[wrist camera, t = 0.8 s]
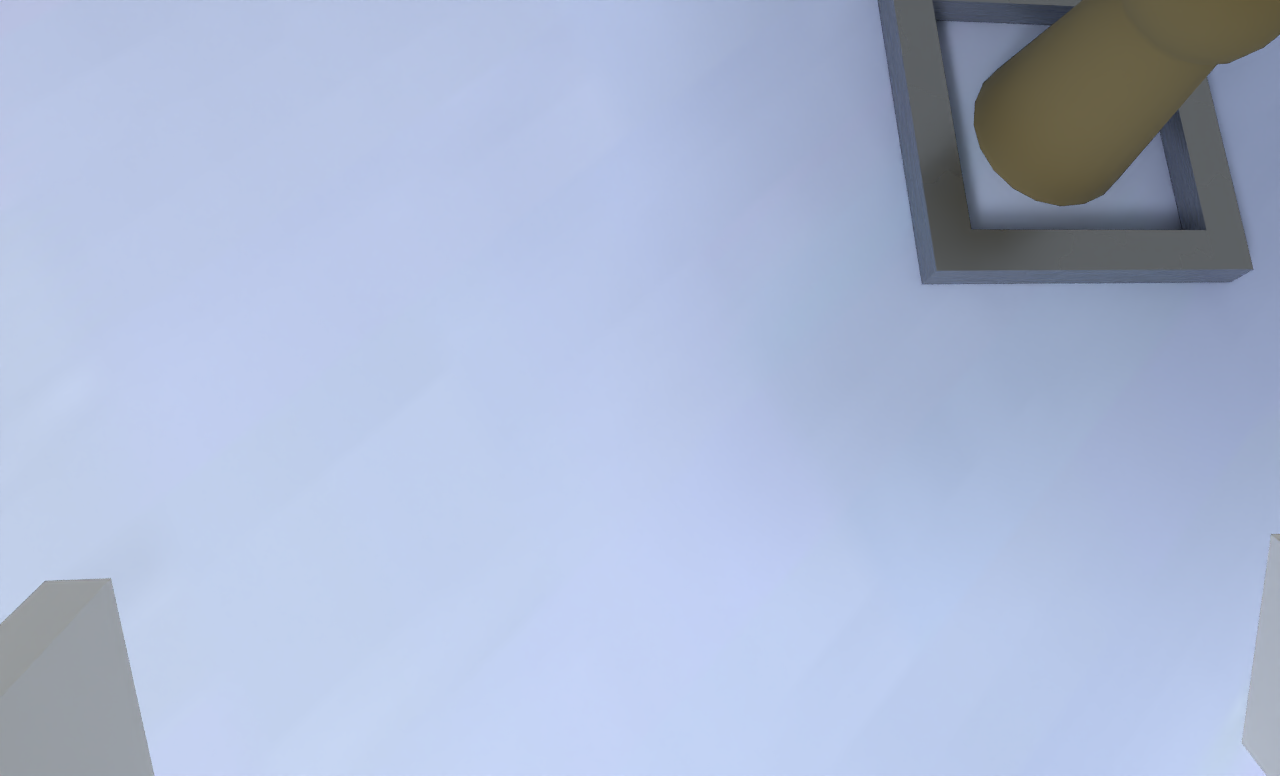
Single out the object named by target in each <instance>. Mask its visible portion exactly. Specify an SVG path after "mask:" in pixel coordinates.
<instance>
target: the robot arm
mask: <svg viewBox="0 0 1280 776" xmlns="http://www.w3.org/2000/svg"><path fill="white" fill-rule="evenodd" d="M1242 744H1243V746H1244V747H1245V748H1246V750H1247V751H1248V752H1249V753H1250V755H1251V756H1252V757H1253V759H1254V760H1255V761H1256V762H1257V764H1258V765H1259V766H1260V768H1261V769H1262V770H1263V771H1264V773H1265V774H1266V775H1267V776H1280V534H1271V538H1270V545H1269V552H1268V559H1267V566H1266V573H1265V580H1264V587H1263V594H1262V601H1261V608H1260V615H1259V623H1258V630H1257V637H1256V644H1255V651H1254V658H1253V665H1252V672H1251V679H1250V686H1249V693H1248V700H1247V708H1246V715H1245V722H1244V729H1243V736H1242ZM0 776H154V772H153V768H152V763H151V759H150V754H149V749H148V745H147V740H146V736H145V731H144V727H143V722H142V718H141V713H140V709H139V704H138V699H137V695H136V690H135V686H134V681H133V677H132V672H131V668H130V663H129V659H128V654H127V649H126V645H125V640H124V636H123V631H122V627H121V622H120V618H119V613H118V609H117V604H116V599H115V595H114V590H113V586H112V581H111V578H108V579H82V580H56V581H44V582H43V583H42V584H41V585H40V586H39V587H38V588H37V589H36V590H35V591H34V592H33V593H32V594H31V595H30V596H29V597H28V598H27V599H26V600H25V601H24V602H23V603H22V604H21V605H20V606H19V607H18V608H17V609H16V610H15V611H14V612H13V613H12V614H11V615H9V616H8V617H7V618H6V619H5V620H4V621H3V622H2V623H1V624H0Z"/></svg>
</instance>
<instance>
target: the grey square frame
mask: <svg viewBox="0 0 1280 776" xmlns="http://www.w3.org/2000/svg"><path fill="white" fill-rule="evenodd" d="M1081 1H1082V0H878V4H879V11H880V17H881V24H882V30H883V37H884V43H885V49H886V56H887V62H888V69H889V75H890V82H891V88H892V94H893V101H894V107H895V114H896V120H897V126H898V133H899V139H900V146H901V152H902V159H903V165H904V171H905V178H906V184H907V191H908V197H909V204H910V210H911V216H912V223H913V229H914V236H915V242H916V248H917V255H918V261H919V268H920V274H921V281H922V284H1015V283H1162V282H1232V281H1234V280H1235V279H1237V278H1239V277H1241V276H1242V275H1244V274H1246V273H1248V272H1249V271H1251V270H1253V266H1252V262H1251V258H1250V254H1249V250H1248V245H1247V241H1246V237H1245V233H1244V229H1243V225H1242V221H1241V216H1240V212H1239V208H1238V204H1237V200H1236V196H1235V192H1234V187H1233V183H1232V179H1231V175H1230V171H1229V167H1228V163H1227V158H1226V154H1225V150H1224V146H1223V142H1222V138H1221V134H1220V129H1219V125H1218V121H1217V117H1216V113H1215V109H1214V105H1213V100H1212V96H1211V92H1210V88H1209V84H1208V80H1207V77H1206V78H1205V79H1204V80H1203V81H1202V82H1201V84H1200V85H1199V86H1198V87H1197V88H1196V89H1195V91H1194V92H1193V93H1192V94H1191V95H1190V96H1189V97H1188V99H1187V100H1186V101H1185V102H1184V103H1183V104H1182V106H1181V107H1180V108H1179V109H1178V110H1177V111H1176V113H1175V114H1174V115H1173V116H1172V117H1171V118H1170V119H1169V121H1168V122H1167V123H1166V124H1165V125H1164V126H1163V128H1162V129H1161V130H1160V133H1161V137H1162V142H1163V146H1164V151H1165V155H1166V159H1167V164H1168V168H1169V173H1170V177H1171V182H1172V186H1173V190H1174V195H1175V199H1176V204H1177V208H1178V213H1179V217H1180V222H1181V226H1182V230H986V229H971V225H970V219H969V213H968V207H967V201H966V195H965V189H964V184H963V178H962V172H961V166H960V160H959V154H958V148H957V143H956V137H955V131H954V125H953V119H952V113H951V107H950V102H949V96H948V90H947V84H946V78H945V72H944V66H943V61H942V55H941V49H940V43H939V37H938V31H937V25H936V20H945V21H969V22H994V23H1019V24H1044V25H1053V24H1054V23H1055V22H1056V21H1057V20H1059V19H1060V18H1061V17H1062V16H1064V15H1065V14H1066V13H1067V12H1069V11H1070V10H1071V9H1072V8H1073V7H1075V6H1076V5H1077V4H1078V3H1080V2H1081Z"/></svg>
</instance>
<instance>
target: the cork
mask: <svg viewBox="0 0 1280 776" xmlns="http://www.w3.org/2000/svg"><path fill="white" fill-rule="evenodd" d="M1279 34H1280V0H1082V1H1081V2H1080V3H1078V4H1077V5H1076V6H1075V7H1073V8H1072V9H1071V10H1070V11H1069V12H1067V13H1066V14H1065V15H1064V16H1062V17H1061V18H1060V19H1059V20H1057V21H1056V22H1055V23H1054V24H1053V25H1051V26H1050V27H1049V28H1048V29H1046V30H1045V31H1044V32H1043V33H1042V34H1040V35H1039V36H1038V37H1037V38H1035V39H1034V40H1033V41H1032V42H1030V43H1029V44H1028V45H1027V46H1026V47H1024V48H1023V49H1022V50H1021V51H1019V52H1018V53H1017V54H1016V55H1014V56H1013V57H1012V58H1011V59H1010V60H1008V61H1007V62H1006V63H1005V64H1003V65H1002V66H1001V67H1000V68H999V69H997V70H996V71H995V72H994V73H993V74H992V75H991V76H990V77H989V78H988V79H987V80H986V81H985V82H984V83H983V85H982V88H981V90H980V92H979V94H978V97H977V99H976V101H975V112H974V127H975V131H976V135H977V138H978V142H979V145H980V149H981V150H982V152H983V154H984V155H985V157H986V158H987V160H988V162H989V163H990V165H991V166H992V168H993V170H994V171H995V172H996V173H997V174H998V175H1000V176H1001V177H1002V178H1003V179H1004V180H1005V181H1006V182H1007V183H1008V184H1009V185H1010V186H1011V187H1012V188H1014V189H1015V190H1017V191H1019V192H1021V193H1023V194H1025V195H1027V196H1029V197H1030V198H1032V199H1034V200H1036V201H1040V202H1045V203H1049V204H1054V205H1058V206H1066V205H1077V204H1085V203H1087V202H1089V201H1091V200H1093V199H1095V198H1097V197H1100V196H1102V195H1104V194H1105V193H1106V192H1107V190H1108V189H1109V188H1110V187H1111V186H1112V185H1113V184H1114V183H1115V182H1116V181H1117V180H1118V178H1119V177H1120V176H1121V175H1122V174H1123V173H1124V171H1125V170H1126V169H1127V168H1128V167H1129V166H1130V165H1131V163H1132V162H1133V161H1134V160H1135V159H1136V158H1137V156H1138V155H1139V154H1140V153H1141V152H1142V151H1143V150H1144V148H1145V147H1146V146H1147V145H1148V144H1149V143H1150V141H1151V140H1152V139H1153V138H1154V137H1155V136H1156V134H1157V133H1158V132H1159V131H1160V130H1161V129H1162V128H1163V126H1164V125H1165V124H1166V123H1167V122H1168V121H1169V119H1170V118H1171V117H1172V116H1173V115H1174V114H1175V113H1176V111H1177V110H1178V109H1179V108H1180V107H1181V106H1182V104H1183V103H1184V102H1185V101H1186V100H1187V99H1188V97H1189V96H1190V95H1191V94H1192V93H1193V92H1194V91H1195V89H1196V88H1197V87H1198V86H1199V85H1200V84H1201V82H1202V81H1203V80H1204V79H1205V78H1206V77H1207V76H1208V74H1209V73H1210V72H1211V71H1212V70H1213V69H1214V67H1215V66H1216V65H1217V64H1227V63H1230V62H1232V61H1235V60H1237V59H1239V58H1241V57H1244V56H1246V55H1248V54H1250V53H1253V52H1255V51H1257V50H1259V49H1261V48H1264V47H1265V46H1266V45H1267V44H1269V43H1270V42H1271V41H1272V40H1274V39H1275V38H1276V37H1277V36H1278V35H1279Z"/></svg>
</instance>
